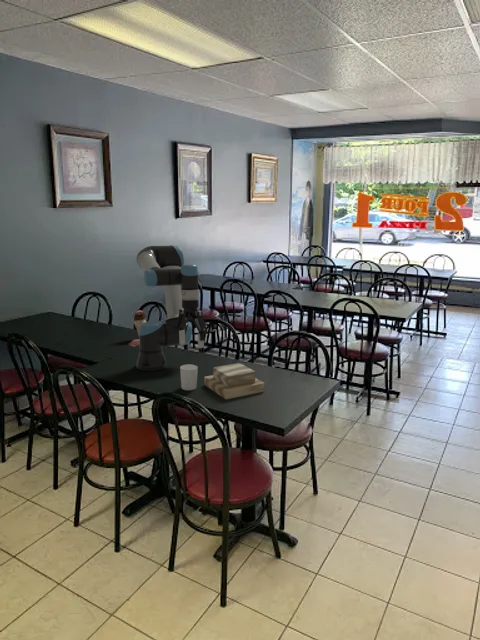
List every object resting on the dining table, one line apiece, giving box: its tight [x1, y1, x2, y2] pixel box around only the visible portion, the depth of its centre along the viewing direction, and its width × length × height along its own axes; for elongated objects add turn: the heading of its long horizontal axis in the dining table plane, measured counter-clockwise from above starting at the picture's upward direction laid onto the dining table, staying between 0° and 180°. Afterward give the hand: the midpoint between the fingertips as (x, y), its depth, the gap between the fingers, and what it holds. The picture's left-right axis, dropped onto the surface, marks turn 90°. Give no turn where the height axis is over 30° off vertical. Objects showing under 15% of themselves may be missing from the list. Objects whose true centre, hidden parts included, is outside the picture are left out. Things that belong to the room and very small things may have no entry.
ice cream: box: [129, 309, 147, 348], centre depth 299 cm, size 16×16×18 cm
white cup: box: [179, 363, 198, 391], centre depth 228 cm, size 8×8×10 cm
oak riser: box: [204, 362, 265, 400], centre depth 229 cm, size 20×20×9 cm
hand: (191, 346), depth 227 cm, fingers open, 13 cm apart
